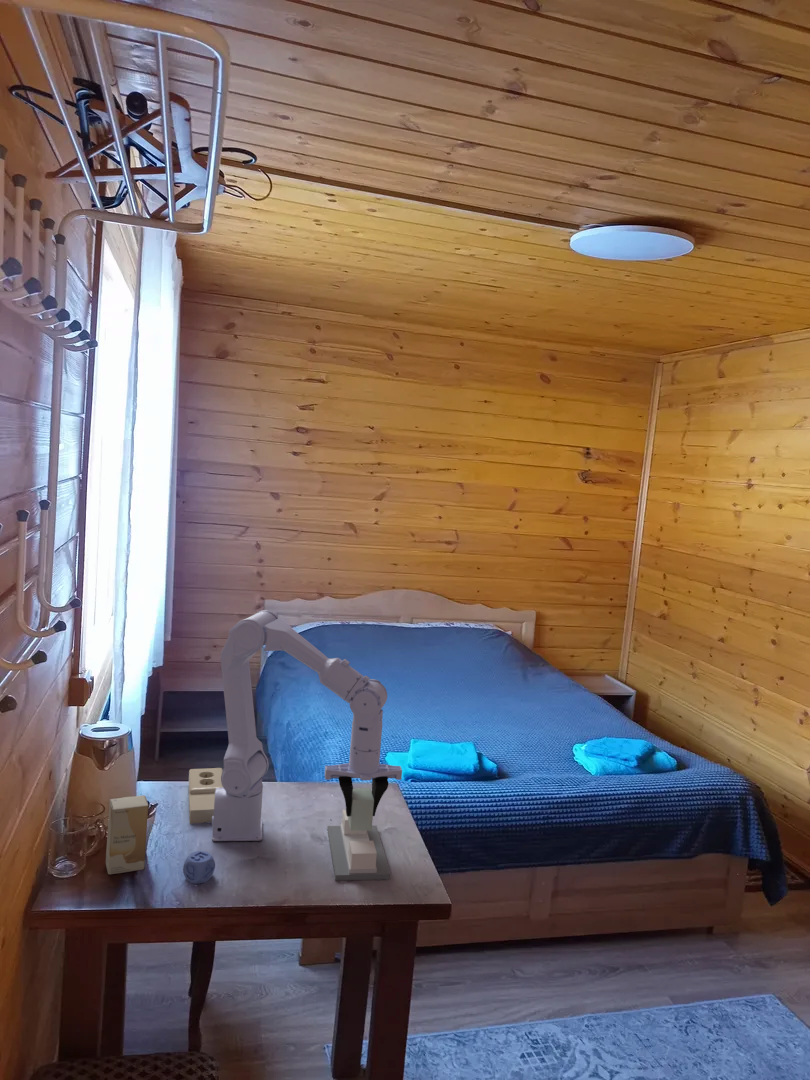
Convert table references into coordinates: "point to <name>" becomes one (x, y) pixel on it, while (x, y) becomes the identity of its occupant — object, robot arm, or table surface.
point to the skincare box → (126, 834)
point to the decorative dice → (199, 867)
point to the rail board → (342, 860)
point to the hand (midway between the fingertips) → (360, 813)
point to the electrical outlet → (203, 793)
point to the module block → (361, 809)
